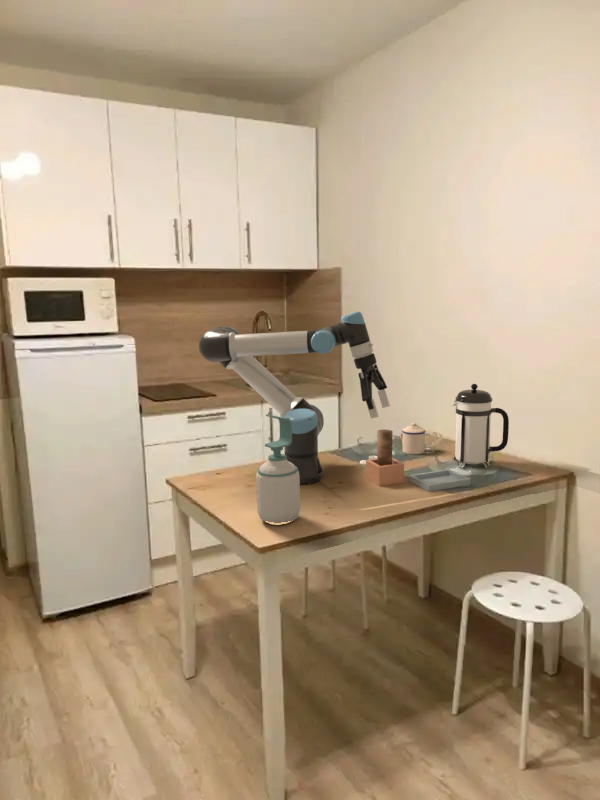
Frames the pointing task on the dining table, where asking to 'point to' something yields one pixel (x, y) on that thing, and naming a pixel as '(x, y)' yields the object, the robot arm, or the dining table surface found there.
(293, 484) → the soap bottle
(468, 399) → the coffee press
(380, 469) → the terracotta square box
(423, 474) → the slate tray
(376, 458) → the teacup and saucer
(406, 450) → the teacup with lid
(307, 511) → the dining table surface
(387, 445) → the walnut dowel
